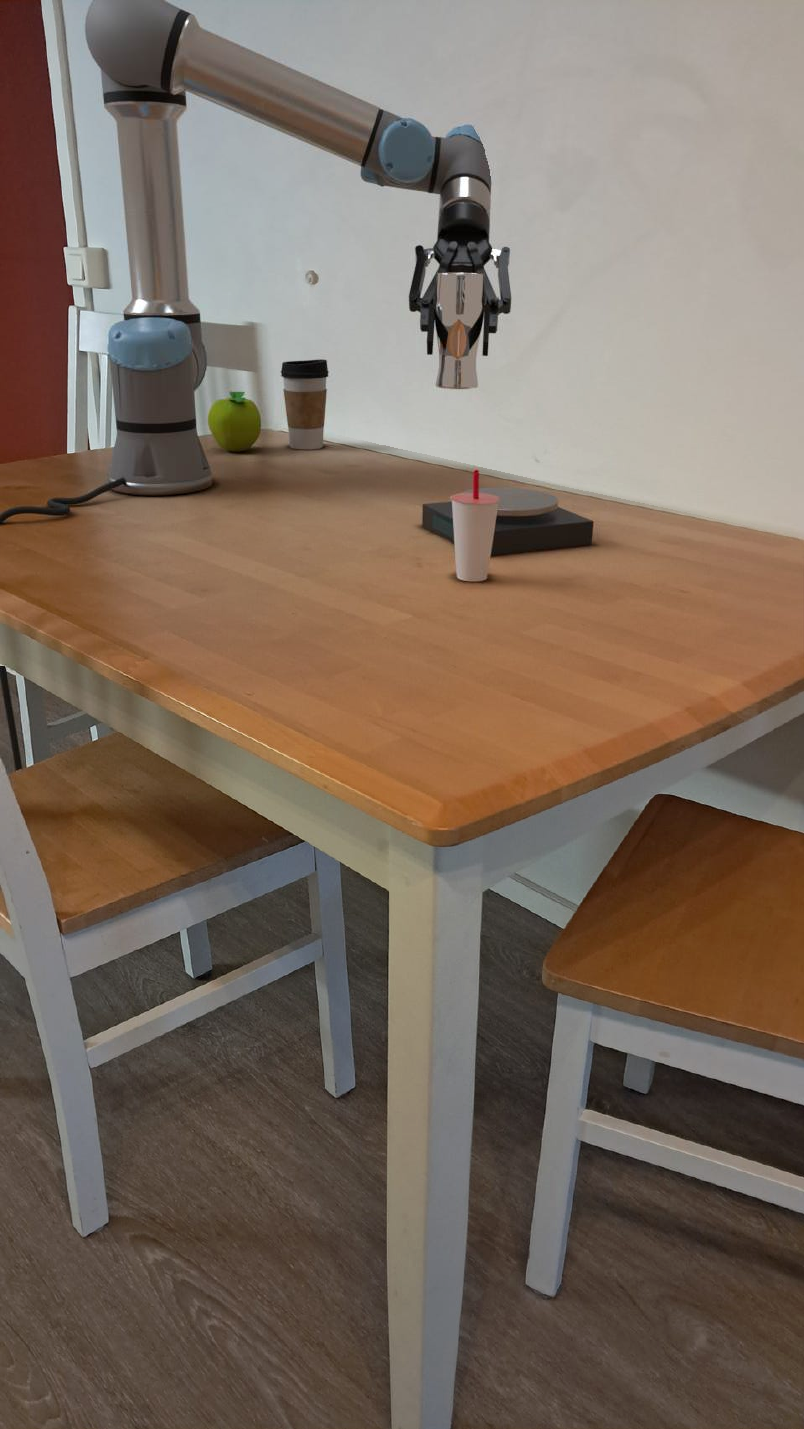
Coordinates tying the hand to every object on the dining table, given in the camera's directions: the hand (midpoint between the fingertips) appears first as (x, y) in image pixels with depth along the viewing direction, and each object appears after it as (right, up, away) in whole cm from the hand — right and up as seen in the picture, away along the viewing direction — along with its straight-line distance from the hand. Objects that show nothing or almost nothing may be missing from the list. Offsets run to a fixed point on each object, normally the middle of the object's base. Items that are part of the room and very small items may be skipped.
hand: (457, 348), depth 147 cm
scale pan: (+6, -24, -12) cm, 27 cm away
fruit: (-37, -4, +42) cm, 56 cm away
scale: (+5, -27, -10) cm, 30 cm away
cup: (0, -35, -27) cm, 45 cm away
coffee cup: (-25, -2, +47) cm, 53 cm away
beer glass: (0, -4, +6) cm, 7 cm away
